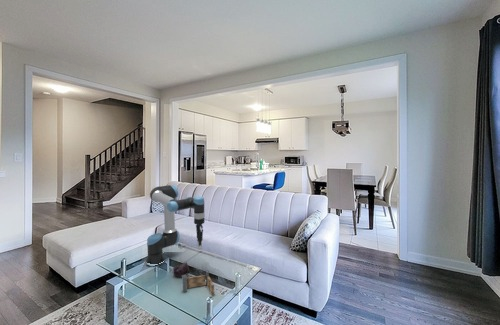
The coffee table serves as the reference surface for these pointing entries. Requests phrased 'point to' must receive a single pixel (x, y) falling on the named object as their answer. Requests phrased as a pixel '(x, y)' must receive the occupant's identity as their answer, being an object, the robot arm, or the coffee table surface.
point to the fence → (210, 285)
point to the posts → (184, 281)
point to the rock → (181, 270)
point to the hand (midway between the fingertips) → (199, 248)
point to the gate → (195, 281)
